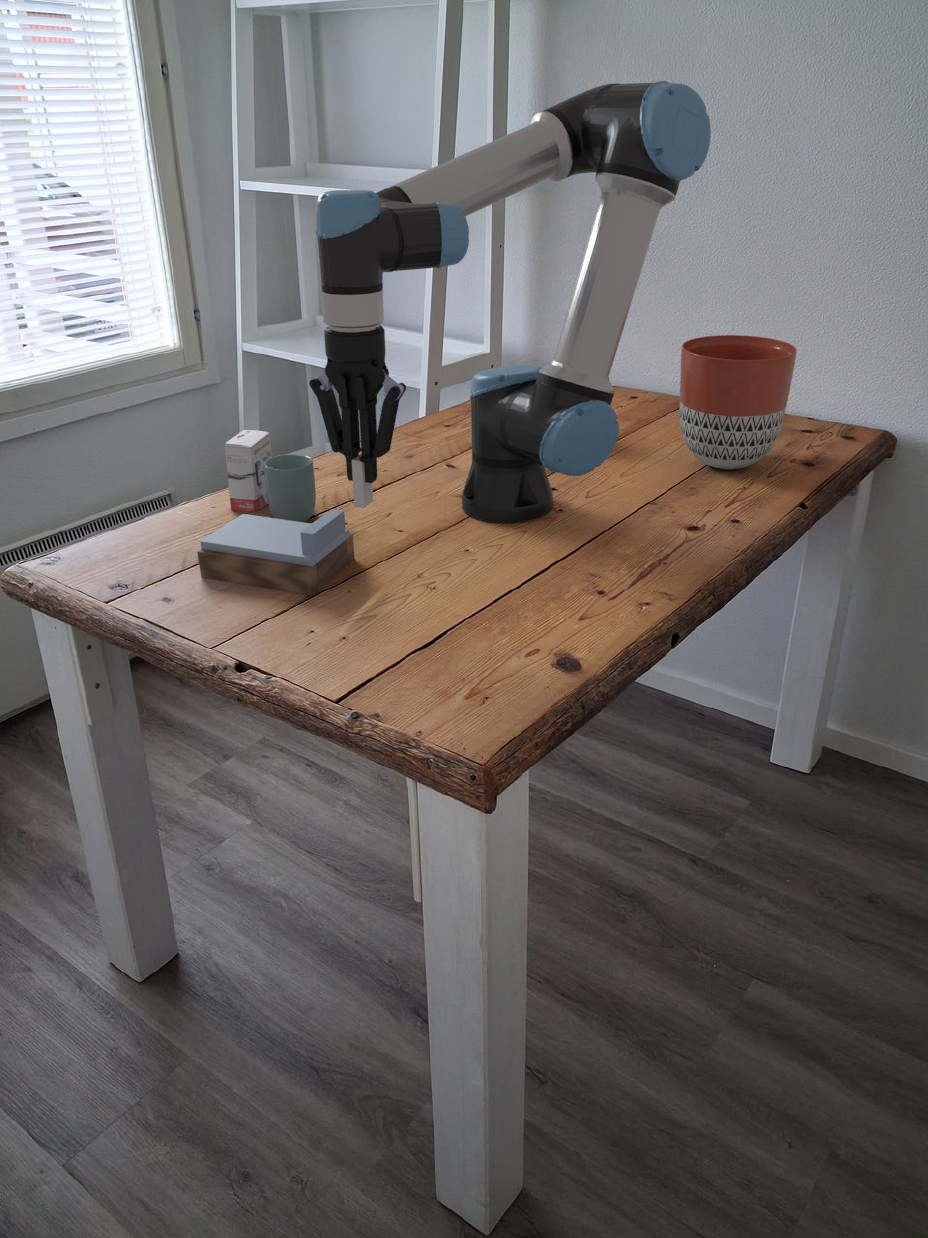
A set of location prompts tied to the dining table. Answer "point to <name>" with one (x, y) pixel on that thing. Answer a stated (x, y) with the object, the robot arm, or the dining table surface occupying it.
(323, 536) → the lid
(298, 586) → the box
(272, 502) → the cup
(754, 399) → the planter
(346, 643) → the dining table surface
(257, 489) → the ink box
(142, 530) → the dining table surface
